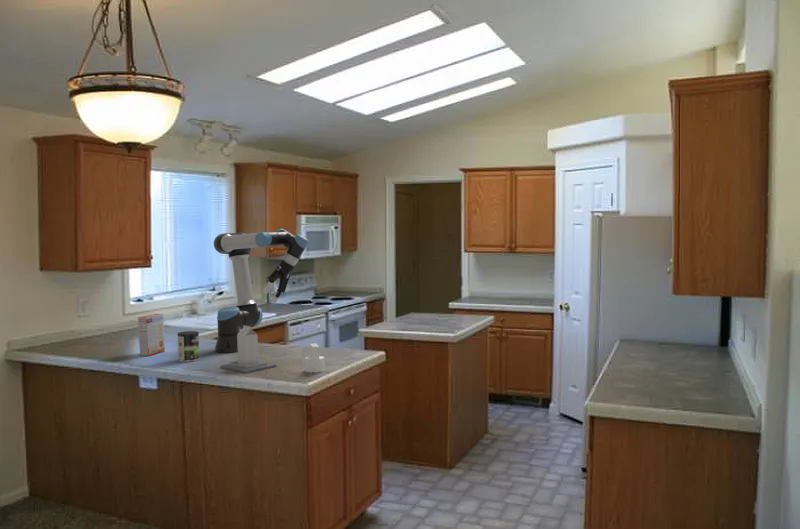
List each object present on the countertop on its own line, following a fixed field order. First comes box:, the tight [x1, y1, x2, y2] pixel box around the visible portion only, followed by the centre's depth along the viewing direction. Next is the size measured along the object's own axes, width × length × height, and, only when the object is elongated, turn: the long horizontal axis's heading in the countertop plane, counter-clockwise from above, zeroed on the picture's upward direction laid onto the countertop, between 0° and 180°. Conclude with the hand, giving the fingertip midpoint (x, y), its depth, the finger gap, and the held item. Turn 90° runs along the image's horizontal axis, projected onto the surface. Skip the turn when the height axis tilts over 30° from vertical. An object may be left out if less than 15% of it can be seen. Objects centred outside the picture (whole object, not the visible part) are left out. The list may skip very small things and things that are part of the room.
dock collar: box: [229, 359, 268, 369], centre depth 321 cm, size 12×12×2 cm
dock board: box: [219, 362, 277, 374], centre depth 321 cm, size 20×18×1 cm
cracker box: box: [137, 313, 166, 357], centre depth 357 cm, size 14×6×21 cm, turn 163°
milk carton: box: [237, 325, 259, 365], centre depth 320 cm, size 7×7×19 cm
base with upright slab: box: [304, 343, 325, 374], centre depth 312 cm, size 9×9×12 cm
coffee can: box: [177, 330, 200, 363], centre depth 340 cm, size 10×10×14 cm
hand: (268, 297), depth 349 cm, fingers open, 13 cm apart
